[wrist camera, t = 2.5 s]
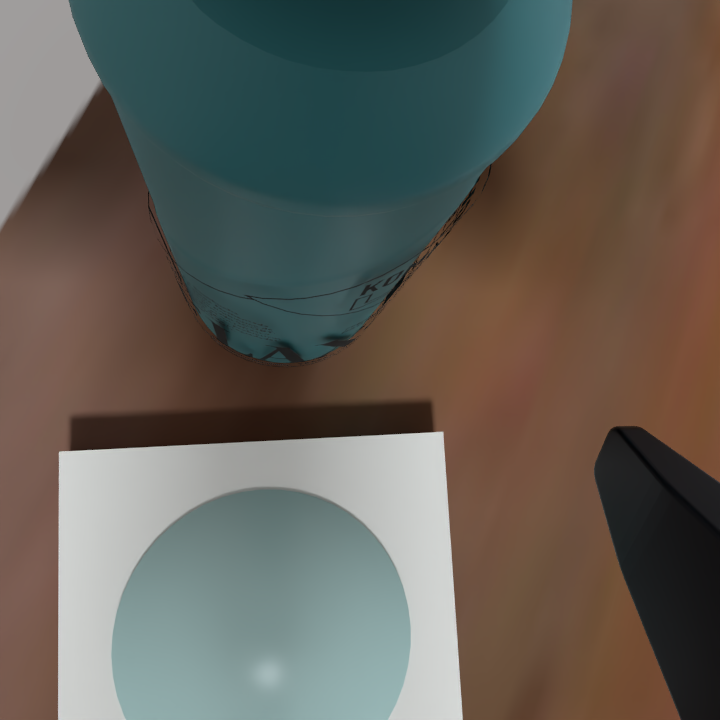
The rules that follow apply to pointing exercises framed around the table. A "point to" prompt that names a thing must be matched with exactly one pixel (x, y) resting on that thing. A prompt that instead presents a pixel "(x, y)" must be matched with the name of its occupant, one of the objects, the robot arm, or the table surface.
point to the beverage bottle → (314, 142)
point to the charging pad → (258, 582)
